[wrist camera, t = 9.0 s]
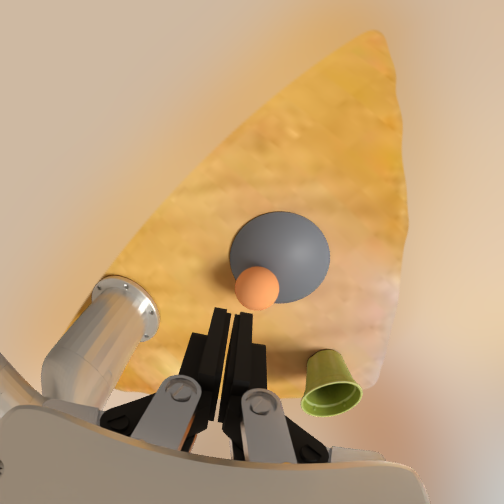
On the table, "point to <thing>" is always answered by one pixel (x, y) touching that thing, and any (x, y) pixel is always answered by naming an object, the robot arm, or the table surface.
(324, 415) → the plant pot
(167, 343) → the table surface
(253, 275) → the ball
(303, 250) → the disc
